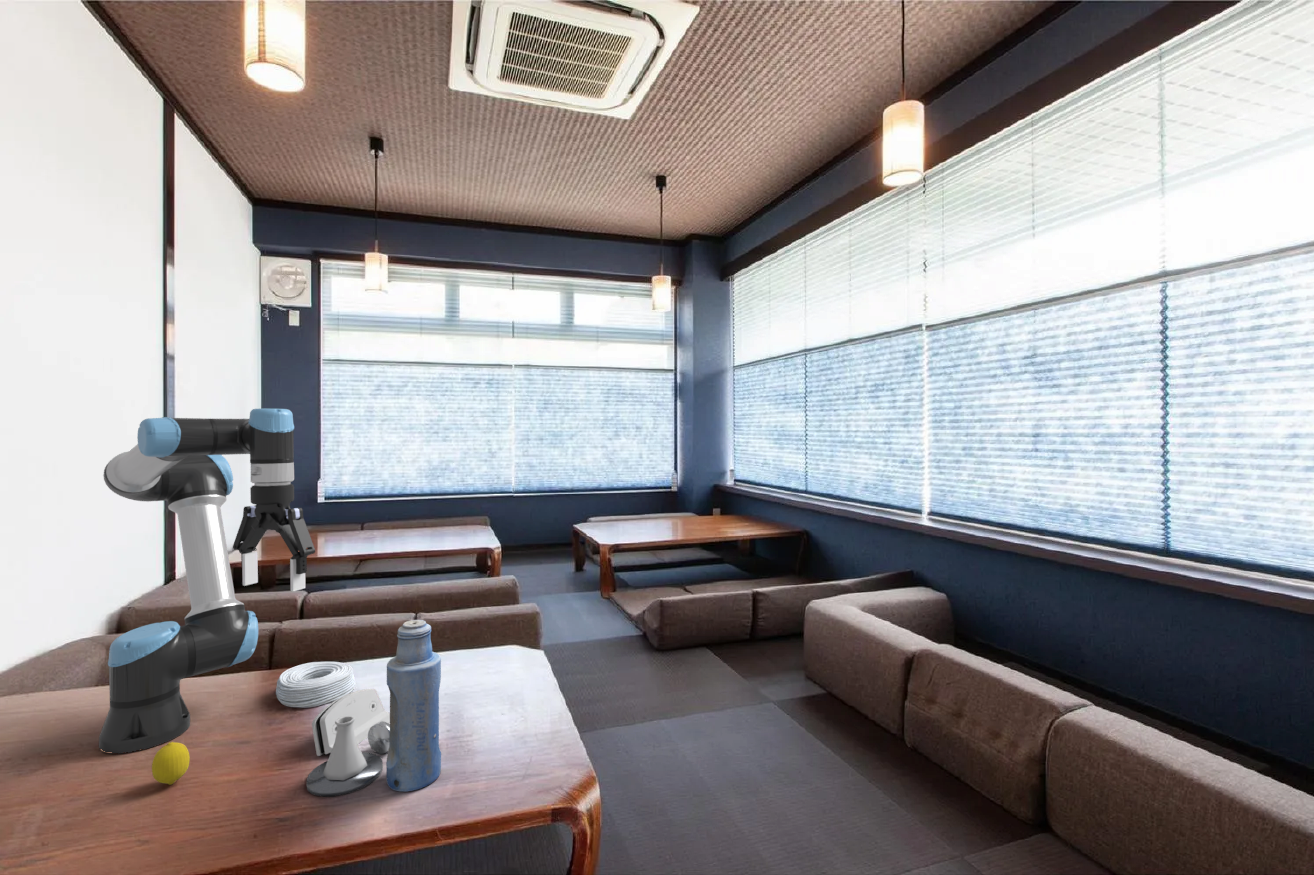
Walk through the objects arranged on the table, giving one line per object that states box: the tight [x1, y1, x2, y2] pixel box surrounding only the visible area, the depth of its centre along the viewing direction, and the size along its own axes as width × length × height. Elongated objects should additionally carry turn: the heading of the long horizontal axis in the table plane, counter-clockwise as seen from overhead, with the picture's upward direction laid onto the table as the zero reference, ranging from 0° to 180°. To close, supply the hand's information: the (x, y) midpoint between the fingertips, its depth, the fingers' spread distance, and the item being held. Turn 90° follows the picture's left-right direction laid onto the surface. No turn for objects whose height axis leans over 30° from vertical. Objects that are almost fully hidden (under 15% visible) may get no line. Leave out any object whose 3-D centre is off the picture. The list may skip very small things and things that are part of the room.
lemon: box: [151, 741, 191, 786], centre depth 111 cm, size 6×6×8 cm
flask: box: [323, 716, 367, 780], centre depth 114 cm, size 7×7×10 cm
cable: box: [275, 661, 357, 709], centre depth 150 cm, size 18×18×6 cm
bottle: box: [385, 619, 442, 792], centre depth 113 cm, size 10×10×30 cm
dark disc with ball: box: [306, 721, 390, 798], centre depth 120 cm, size 13×26×6 cm, turn 160°
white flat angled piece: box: [311, 688, 390, 757], centre depth 129 cm, size 17×5×10 cm, turn 164°
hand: (273, 586), depth 121 cm, fingers open, 13 cm apart
